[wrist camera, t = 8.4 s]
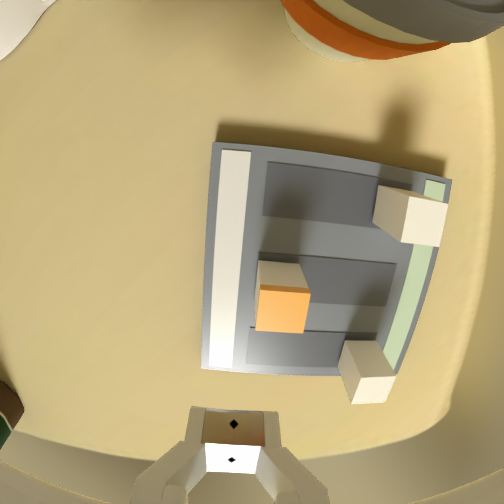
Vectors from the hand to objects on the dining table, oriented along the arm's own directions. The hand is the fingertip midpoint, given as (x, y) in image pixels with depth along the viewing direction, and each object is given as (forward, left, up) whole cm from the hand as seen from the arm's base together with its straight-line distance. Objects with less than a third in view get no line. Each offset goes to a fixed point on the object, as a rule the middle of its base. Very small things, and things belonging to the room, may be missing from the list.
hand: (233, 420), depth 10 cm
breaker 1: (+7, +11, -14) cm, 19 cm away
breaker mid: (+1, +3, -14) cm, 14 cm away
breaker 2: (-6, +11, -14) cm, 19 cm away
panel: (0, +7, -16) cm, 18 cm away
